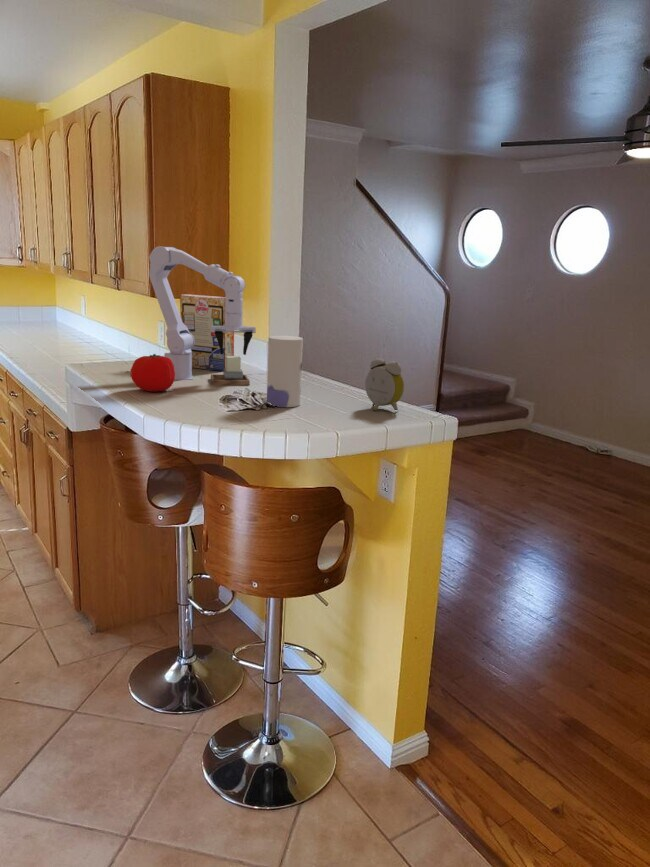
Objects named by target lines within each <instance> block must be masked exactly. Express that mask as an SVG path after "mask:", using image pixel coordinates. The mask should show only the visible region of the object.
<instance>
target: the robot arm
mask: <svg viewBox="0 0 650 867" xmlns="http://www.w3.org/2000/svg"><path fill="white" fill-rule="evenodd" d="M148 258H149V261H150V264H149V265H150V266H149V274H148V275H149V280H150V282H151V285H152V288H153V292H154V293H155V296H156V298H157V302H158V305H159V308H160V310H161V313H162V316H163V318H164V321H165V324H166V330H165V331H166V332H165V335H166V345H167V349H168V350H169V352H164V355H163V356H164V357H167V358H169V359H170V360H171V361H172V363H173V365H174V370H175V380H174V381H177V380H179V381H180V380H181V381H183V380H184V381H185V380H186V381H187V380H188V381H192V380H193V381H194V376H193V372H192V371H193V368H192V351H191V348H192V347H193V346H194V343H195V340H194V337H193V335H192V334H191V333H190V332H189V330H188V328H187V327H186V325H185V324H184V323H183V322H182V319H181V314H180V311H179V308H178V305H177V302H176V300H175V297H174V294H173V291H172V289H171V286H170V283H169V280H168V277H169V275H170V273H171V271H172V270H174V268H175V267H177V265H183V266H184V267H187V268H189V269H190V270H191V269H192V270H194V271H196V272H198V273H200V274H202V275H203V277H204V280H205V281H207V282H209V283H211V284H213V285H214V286H216V287H218V288H220V289H221V290H222V289H223V291H224V293H225V297H226V298H225V326H211V332H214V333H215V335H216V338H217V340H218V343H219V347H220V354H223V333H222V332H234V334H235V333H238V334H241V333H242V334H243V348H242V349H243V350H242V354H243V355H244V356H246V355H247V350H248V347H249V345H250V343H251V339H252V338H253V334H256V330H257V329H256V327H255V326H244V325H243V308H244V306H243V305H244V304H243V303H244V293H243V292H244V291H245V289H246V281H245V280H244V279H243V277H241V276H240V275H237V274H236V275H234V272H232V271H227V270H226V269H223V268H222V266H221V265H220V264H219V263H218V264H209V265H208V264H206V263H205V262H203V261H201V260H199V259H197V258H196V257H194V256H192V255H190V254H189V253H187V252H185V251H184V250H181V249H177V248H176V247H174V246H162V245H161V246H160V245H159V246H156V247H154V248H153V250H152V251H151V253H150V255H149V256H148ZM227 330H234V331H227ZM165 355H167V356H165Z"/></svg>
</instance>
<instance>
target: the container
mask: <svg viewBox="0 0 650 867" xmlns="http://www.w3.org/2000/svg"><path fill="white" fill-rule="evenodd" d="M267 343H268V344H267V345H268V346H267V350H268V351H267V380H266V381H267V382H266V385H267V386H266V388H267V389H266V402H267V401H268V402H270V403H271V404H272V405H274V406H273V407H275V406H277V408H295V407H299V406H300V405H301V398H302V397H301V392H302V391H301V390H302V371H303V370H302V369H303V348H304V347H303V344H304V339H303V337H300V336H294V335H284V334H283V335H281V334H280V335H279V334H278V335H270V336H268V342H267Z"/></svg>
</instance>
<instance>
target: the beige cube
mask: <svg viewBox="0 0 650 867" xmlns="http://www.w3.org/2000/svg"><path fill="white" fill-rule="evenodd" d="M241 361H242V359H241V357H240V355H234V356H226V370H227V371H240V369H241V365H242V364H241Z"/></svg>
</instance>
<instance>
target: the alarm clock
mask: <svg viewBox="0 0 650 867" xmlns="http://www.w3.org/2000/svg"><path fill="white" fill-rule="evenodd" d="M369 367H370V371H369V372H368V373H367V375H366V377H365V382H364V388H365V393H366V395H367V397H368V399H369V400H370V401H371V403H372V406H373V405H375V406H373V409H372V411H373V410H375V411H377V409H378V408H379V407H385V406H392V408H393V410H394V411H395V410H398V405H397V403H398V402H399V401H400V400H401V399H402V397H403V395H404V393H405V392H404V391H405V380H404V378H403V376H402V366H401V364H400V363H399V362H398V361H395V360H392V361H389V362H387V363H386V360H384V359H383V358H379V357H378V358H377V357H375V358H374V359H373V360H372V361H371V363H370V366H369ZM398 411H399V410H398Z"/></svg>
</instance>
